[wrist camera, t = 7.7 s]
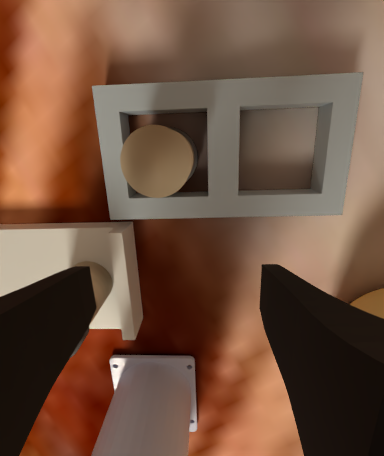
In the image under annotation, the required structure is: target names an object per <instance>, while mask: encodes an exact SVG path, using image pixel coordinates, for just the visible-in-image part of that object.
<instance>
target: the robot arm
mask: <svg viewBox="0 0 384 456" xmlns="http://www.w3.org/2000/svg"><path fill="white" fill-rule="evenodd" d="M96 308H97V307H96V301H95V295H94V290H93V284H92V278H91V272H90V266H75V267H71V268H68V269H65V270H63V271H60V272H58V273H55V274H53V275H51V276H48V277H46V278H44V279H42V280H39V281H37V282H35V283H32V284H30V285H28V286H26V287H23V288H21V289H18V290H16V291H13V292H11V293H8V294H6V295H4V296H1V297H0V456H19V455H20V452H21V450H22V448H23V446H24V444H25V442H26V439H27V437H28V435H29V433H30V431H31V429H32V426H33V424H34V422H35V420H36V418H37V416H38V414H39V412H40V410H41V408H42V406H43V404H44V402H45V400H46V398H47V396H48V394H49V392H50V390H51V388H52V386H53V385H54V383H55V381H56V379H57V378H58V376H59V374H60V373H61V371H62V370H63V368H64V366H65V365H66V363H67V362H68V360H69V358H70V357H71V355H72V354H73V352H74V350H75V349H76V347H77V346H78V344H79V342H80V341H81V339H82V337H83V336H84V334H85V332H86V331H87V329H88V327H89V325H90V322H91V320H92V318H93V316H94V313H95V311H96ZM260 312H261V316H262V321H263V325H264V329H265V332H266V335H267V338H268V340H269V343H270V346H271V348H272V351H273V354H274V356H275V359H276V362H277V364H278V367H279V370H280V372H281V375H282V378H283V380H284V383H285V386H286V389H287V392H288V395H289V399H290V403H291V406H292V410H293V414H294V418H295V421H296V425H297V429H298V433H299V437H300V441H301V445H302V449H303V453H304V456H384V319H383V318H380V317H378V316H375V315H373V314H370V313H368V312H365V311H363V310H361V309H358V308H356V307H354V306H352V305H349V304H347V303H345V302H343V301H341V300H339V299H337V298H335V297H333V296H331V295H329V294H327V293H325V292H324V291H322V290H320V289H318V288H316V287H315V286H313V285H311V284H310V283H308V282H306V281H305V280H303V279H301V278H300V277H298V276H296V275H295V274H293V273H292V272H290V271H288V270H287V269H285V268H283V267H282V266H280V265H278V264H266V265H262V274H261V292H260ZM115 364H117V365H115ZM188 365H191V366H188ZM110 367H111V373H112V379H113V385H114V391H115V393H114V395H113V398H112V401H111V403H110V406H109V409H108V412H107V414H106V417H105V420H104V423H103V425H102V428H101V431H100V434H99V436H98V439H97V442H96V444H95V447H94V450H93V453H92V455H91V456H188V446H189V432H194V431H196V430H197V406H196V380H195V359H194V358H193V357H192V356H168V355H113V356H112V357H111V358H110Z"/></svg>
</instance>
